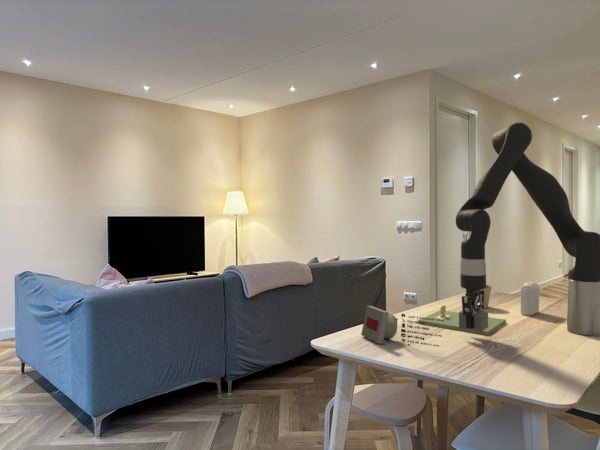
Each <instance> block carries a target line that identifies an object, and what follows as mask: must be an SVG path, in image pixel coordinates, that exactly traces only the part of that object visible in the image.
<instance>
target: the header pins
mask: <svg viewBox="0 0 600 450" xmlns="http://www.w3.org/2000/svg"><path fill="white" fill-rule="evenodd" d="M446 306H447V305H446V304H443V305H440V307H439V308H440V310H439V311H440V317H441V318H443V317H444V316H446V311H447V309H446Z"/></svg>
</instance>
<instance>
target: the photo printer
mask: <svg viewBox="0 0 600 450" xmlns="http://www.w3.org/2000/svg"><path fill="white" fill-rule="evenodd" d="M539 312H540V286H539V284H538V283H537V282H536V281H527V282H525V283H524V284H523V285H522V286H521V290H520V314H521V315H522V316H527V317H529V316H533V315H536V314H538V313H539Z"/></svg>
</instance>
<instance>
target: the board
mask: <svg viewBox="0 0 600 450" xmlns="http://www.w3.org/2000/svg"><path fill="white" fill-rule="evenodd" d="M423 318H425V319H426V318H431V319H430V320H425V319H422V317H421V319H420V318H418V319H417V322H419V324H420V322H421V323H422V322H425V324H424V325H426V326H432V327H436V328H442V329H450V330H455V331H461V332H466V333H473V334H478V335H483V336H489V335H491V334H492V333H494V332H495V331H497V330H498V329H499V328H500V327H502V326H504V325H505V324H506V323H507V319H505V318H496V317H491V316H488V328H486V329H485V330H483V331H476V330H469V329H463V328H459V311H458V312H456V311H450V310H446V316H444V317H443V318H441V317H440V310H437V311H435V312H433V313H430V314H429V315H426V316H423ZM432 319H435V320H434V321H432ZM437 319H438V320H437ZM439 320H444V321H441V322H440V321H439Z"/></svg>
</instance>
